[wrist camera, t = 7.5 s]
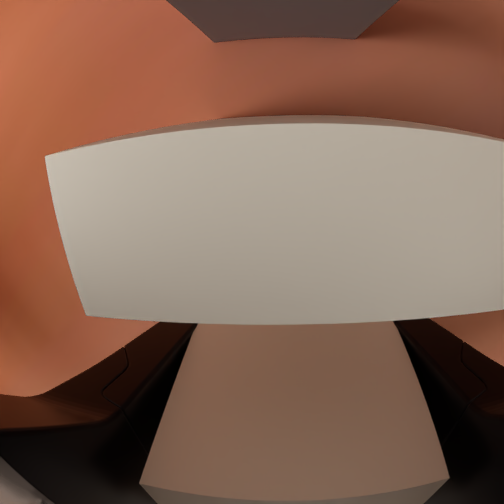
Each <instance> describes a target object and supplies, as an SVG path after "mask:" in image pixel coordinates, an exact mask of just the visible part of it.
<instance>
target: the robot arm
mask: <svg viewBox="0 0 504 504" xmlns="http://www.w3.org/2000/svg"><path fill="white" fill-rule="evenodd" d="M393 323H394V324H395V326H396V327H397V329H398V331H399V334H400V336H401V338H402V341H403V343H404V346H405V348H406V350H407V353H408V355H409V358H410V360H411V363H412V366H413V368H414V371H415V373H416V376H417V379H418V381H419V384H420V387H421V389H422V392H423V395H424V398H425V400H426V403H427V406H428V409H429V412H430V415H431V418H432V421H433V424H434V427H435V430H436V433H437V436H438V439H439V443H440V446H441V449H442V453H443V456H444V459H445V463H446V466H447V470H448V474H449V477H450V478H449V479H448V480H447V481H446V482H445V483H444V484H443V485H442V486H441V487H440V488H439V489H438V490H437V491H436V492H435V493H434V494H433V495H432V496H431V497H430V498H429V499H428V500H427V501H426V502H425V503H424V504H504V367H503V366H502V365H500V364H498V363H497V362H495V361H493V360H492V359H490V358H488V357H487V356H485V355H484V354H482V353H480V352H479V351H477V350H476V349H474V348H473V347H471V346H470V345H469V344H467V343H466V342H463V341H462V340H461V339H460V338H458V337H457V336H455V335H454V334H452V333H451V332H449V331H448V330H446V329H445V328H443V327H442V326H440V325H439V324H437V323H435V322H434V321H432V320H431V319H429V318H422V319H410V320H396V321H393ZM197 325H198V323H179V322H159V323H157V324H156V325H154V326H153V327H151V328H150V329H148V330H147V331H146V332H144V333H143V334H141V335H140V336H138V337H137V338H135V339H134V340H132V341H131V342H129V343H128V344H127V345H125V348H124V347H122V348H121V349H119V350H118V351H116V352H115V353H113V354H112V355H110V356H109V357H107V358H106V359H104V360H102V361H101V362H99V363H98V364H96V365H94V366H93V367H91V368H89V369H87V370H86V371H84V372H82V373H80V374H79V375H77V376H75V377H73V378H71V379H69V380H68V381H66V382H64V383H62V384H60V385H59V386H57V387H55V388H53V389H51V390H49V391H47V392H45V393H43V394H40V395H36V396H30V397H20V396H11V395H3V394H0V504H157V503H156V501H155V500H154V499H153V498H152V497H151V496H150V495H149V494H148V493H147V492H146V491H145V489H144V488H143V487H142V486H141V485H140V484H139V482H140V479H141V476H142V473H143V470H144V467H145V464H146V461H147V459H148V456H149V453H150V450H151V447H152V444H153V441H154V438H155V435H156V433H157V430H158V427H159V424H160V421H161V418H162V416H163V413H164V410H165V407H166V404H167V402H168V399H169V396H170V393H171V390H172V388H173V385H174V382H175V379H176V377H177V374H178V371H179V369H180V366H181V363H182V360H183V358H184V355H185V352H186V350H187V347H188V344H189V342H190V339H191V336H192V334H193V332H194V330H195V328H196V327H197Z"/></svg>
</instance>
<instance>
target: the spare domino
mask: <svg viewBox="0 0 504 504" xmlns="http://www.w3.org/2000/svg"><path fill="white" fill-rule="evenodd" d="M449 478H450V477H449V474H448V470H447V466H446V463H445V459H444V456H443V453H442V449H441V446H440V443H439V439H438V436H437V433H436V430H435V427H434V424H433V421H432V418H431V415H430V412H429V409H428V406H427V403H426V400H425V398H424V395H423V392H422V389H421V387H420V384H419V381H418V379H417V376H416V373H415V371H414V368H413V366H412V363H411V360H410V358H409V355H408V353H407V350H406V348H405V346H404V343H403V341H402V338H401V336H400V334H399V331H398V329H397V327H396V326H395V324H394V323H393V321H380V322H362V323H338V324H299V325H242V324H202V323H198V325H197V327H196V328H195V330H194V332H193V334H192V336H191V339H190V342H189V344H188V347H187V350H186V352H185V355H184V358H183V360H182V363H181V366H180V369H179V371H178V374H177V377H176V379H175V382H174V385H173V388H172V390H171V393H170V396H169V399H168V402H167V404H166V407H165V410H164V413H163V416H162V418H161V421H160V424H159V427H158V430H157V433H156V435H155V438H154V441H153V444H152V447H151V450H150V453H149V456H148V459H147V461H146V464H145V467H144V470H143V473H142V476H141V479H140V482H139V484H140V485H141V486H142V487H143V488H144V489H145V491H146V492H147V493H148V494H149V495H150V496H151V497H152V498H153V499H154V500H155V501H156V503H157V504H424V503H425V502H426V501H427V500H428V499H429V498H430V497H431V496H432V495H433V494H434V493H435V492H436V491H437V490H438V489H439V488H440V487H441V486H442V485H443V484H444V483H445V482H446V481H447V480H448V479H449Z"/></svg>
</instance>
